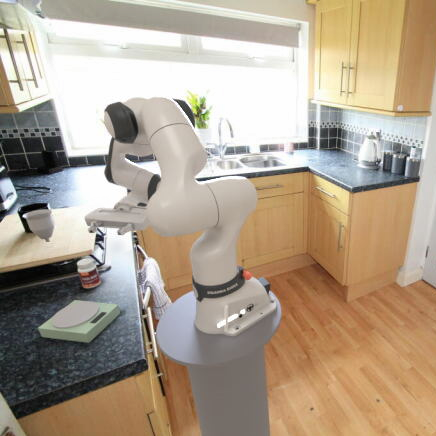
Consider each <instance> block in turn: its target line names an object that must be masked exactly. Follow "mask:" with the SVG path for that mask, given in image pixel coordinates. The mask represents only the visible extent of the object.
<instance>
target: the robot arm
mask: <svg viewBox="0 0 436 436" xmlns="http://www.w3.org/2000/svg"><path fill="white" fill-rule="evenodd" d="M103 111H104V112H103V113H104V115H103V122H104V123H103V124H104V126H105V128H106V130H107V132H108V134H109V135H110V136H111V139H110V143H109V146H108V154H107V162H106V165H105V167H104V170H103V175H104V177H105V179H106V181H107V182H108V183H109V184H113V185H116V186H119V187H122V188H124V189H127V190H130V191H129V193H128V194H127V195H125V196H124V197H122V198H121V199H120V200H119V201H117V202H116V203H115V204H114V206H113V208H112V207H98V208H96V209H94V210H92V211H90V212H89V213H87V214H85V216H84V221H85V224H86V226H87V227H88V228H87V231H88V233H89V234H96V233H97V231H98V229H97V228H105V229H106V228H107V229H117V230H116V233H117V235H118V236H124V235H125V234H127V233H130V232H132V231H145V230H147V229H148V228H149V227H150V228H152V230H153V231H154V232H155V233H156V234H158V235H159V236H161V237H164V238H173V237H183V236H189V235H192V234H195V233H198V232H201V231H203V233H201V235H200V236H199V237H198V238H197V239H196V240H195V241H194V242H193V244H192V245H191V247H190V251H189V259H190V265H191V270H192V276H191V282H192V286H191V287H192V291H194V296H195V298H196V314H195V319H194V323H195V326H196V327H197V329H198V330H200V331H201V332H204V333H207V334H224V335H227V336H231V337H234V336H237V335H238V334H240V333H241V332H243V331H244V330H246V329H247V328H249V327H251V326H252V325H254V324H255V323H257V322H258V321H260V320H261V319H263V318H264V317H266V316H268V315H269V314H271V313H272V312H274V311H275V310H276V309H277V305H276V300H275V298H274V297H273V295H272V294H271V293H270V292H269V291H271V283H270V281H268V280H267V279H266V278H265V277H263V276H261V277H258V278H256V277H255V276H253V274H252V273H251V272H250V271H249V270H245V267H243V266H242V265H240V264H239V263H238V241H239V237H240V234H241V231H242V229H243V227H244V225H245V223H246V221H247V219H248V218H250V216H251V215H252V214H253V212H254V211H255V210H256V209H257V206H258V202H259V196H258V195H259V194H258V191H257V188H256V187H255V185H254V184H253V183H252V181H251V180H249V178H246V177H245V176H223V177H219V178H213V179H209V180H205V181H198V180H197V179H196V176H197V175H198V174H200V173H201V172H202V171H203V170H204V168H205V167H206V165H207V163H208V153H207V150H206V148H205V146H204V144H203V143H202V141H201V138H200V136H199V135H198V133H197V131H196V129H195V128H196V118H195V114H194V111H193V108H192V107H191V105H190V104H189V103H188V102H187V101H186V100H184V99H181V98H169V97H167V96H161V95H158V96H153V97H150V98H145V97H140V96H139V97H131V98H129V99H127V100H126V101H124V102H121V101H116V102H112V103H110V104H108V105H106V107H105V109H104V110H103ZM153 154H154V156H155V158H156V162H157V164H158V166H159V169H160V170H159V171H160V173H158V172H156V171H154V170H152V169H150V168H147V167H144V166H143V165H140V164H137V163H134V162H132V161H130V160H129V159H127V158H126V155H130V156H135V157H148V156H151V155H153ZM237 329H238V330H237Z"/></svg>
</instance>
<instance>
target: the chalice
mask: <svg viewBox="0 0 436 436" xmlns="http://www.w3.org/2000/svg"><path fill="white" fill-rule="evenodd" d="M22 218H24V219H26V223H27V225H28V227H29V230H30V231H31V232H32V233H33V234H34V235H35V236H36V237H38V238H39V239H40V240H45V243H46V242H51V240H50V238H52V237H53V233H54V230H55V222H54V219H53V217H52V210H51V209H36V210H32V211H29V212H26V213H24V214H23V215H22Z"/></svg>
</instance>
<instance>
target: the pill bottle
mask: <svg viewBox="0 0 436 436" xmlns="http://www.w3.org/2000/svg"><path fill="white" fill-rule="evenodd" d="M76 265H77V274H78V277H79V279H80V282H81V284H82V288H83V289H94V288H96V287H98V286H99V285H100V284H101V283H102V281H101V277H100V273H99V270H98V267H97V264H95V262H94V260H93V258H90V257H88V258H83V259H82V258H81V259H80V260H78V261H77V262H76Z"/></svg>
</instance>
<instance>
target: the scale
mask: <svg viewBox="0 0 436 436" xmlns="http://www.w3.org/2000/svg"><path fill="white" fill-rule="evenodd" d="M120 314H121V310H120V306H119V304H117V303H105V302H98V301H91V300H81V299H80V300H78V299H74V300H73V301H71V302H70V303H69V304H68V305H66V306H65V307H63V308H61V309H60V310H59V311H57V312H56V313H55V314H54V315H53V316H51V317H50V318H49V319H48V320H46V321H45V322H44V323H42V324H41V325H40V326H39V327H37V330H38V332H39V333H40V336H41V338H46V339H55V340H62V341H71V342H79V343H86V344H87V343H88V344H90V343H91V342H92V341H93V340H94V339H95V338H96V337H97V336H98V335H99V334H100V333H102V331H104V330H105V328H107V327H108V326H109V325H110V324H111V323H112V322H113V321H114V320H115V319H116V318H117V317H118V316H119V315H120Z"/></svg>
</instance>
